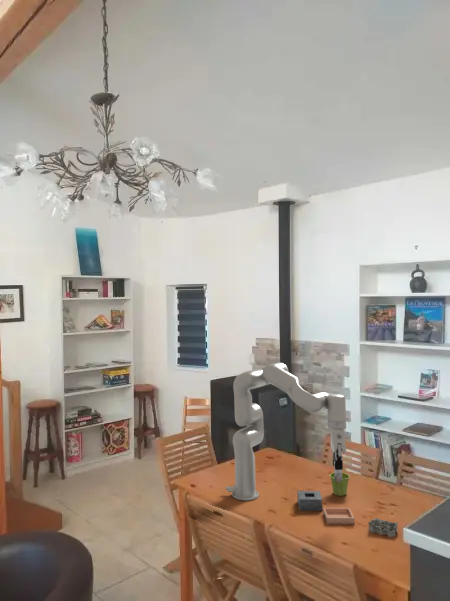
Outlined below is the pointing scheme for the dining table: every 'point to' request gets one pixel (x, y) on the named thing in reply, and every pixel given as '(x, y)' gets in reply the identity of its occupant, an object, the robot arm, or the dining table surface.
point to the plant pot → (340, 484)
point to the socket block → (310, 501)
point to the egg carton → (377, 524)
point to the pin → (337, 473)
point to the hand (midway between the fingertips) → (337, 467)
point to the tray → (338, 516)
